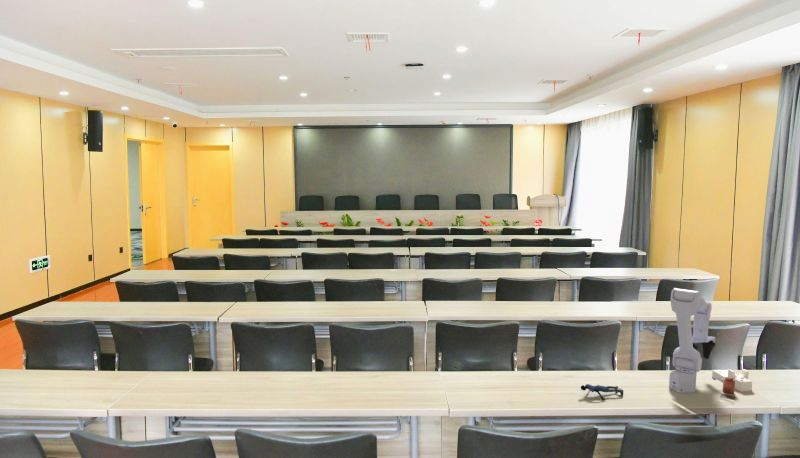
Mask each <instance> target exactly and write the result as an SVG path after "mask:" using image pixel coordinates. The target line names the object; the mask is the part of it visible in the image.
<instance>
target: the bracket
mask: <svg viewBox="0 0 800 458" xmlns="http://www.w3.org/2000/svg"><path fill="white" fill-rule="evenodd" d="M749 372H750V371H749V370H747V369H745V368H743V369H742V370H741V372H740V373H739V374H737V373H735V371H734V370H732V369H712V371H711V373H712V375H711V378H712V377H713V378H712V379H714V378H715V379H714V380H716V379H717V380H716V381H722V382H723V380H724V379H725V377H731V378H736V377H744V378H746V379H748V380H749V374H750V373H749Z"/></svg>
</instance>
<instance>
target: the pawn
mask: <svg viewBox="0 0 800 458" xmlns="http://www.w3.org/2000/svg"><path fill="white" fill-rule="evenodd" d="M722 383H723V384H722V389H723V393H726V394H731V395H732V394H734V392H735V390H736V389H735V381H734V380H733V378H731V377H725V379H724V380H723V381H722ZM723 393H722V394H723Z"/></svg>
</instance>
